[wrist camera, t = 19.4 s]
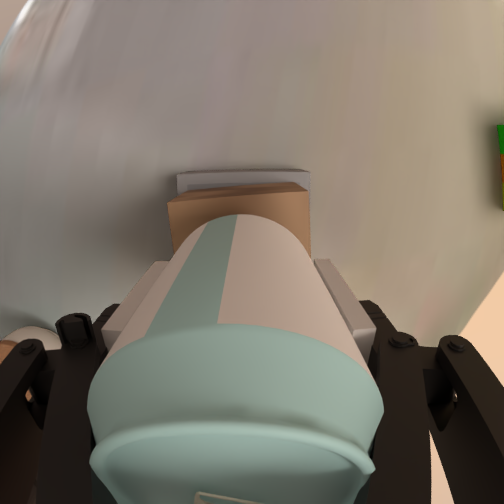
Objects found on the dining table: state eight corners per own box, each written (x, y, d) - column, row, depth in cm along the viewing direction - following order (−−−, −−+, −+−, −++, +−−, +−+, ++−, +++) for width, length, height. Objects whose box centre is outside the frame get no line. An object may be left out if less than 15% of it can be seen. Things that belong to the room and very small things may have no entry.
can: (318, 325, 17) (386, 528, 5) (195, 347, 17) (148, 547, 6) (299, 198, 15) (440, 341, 3) (157, 228, 15) (-6, 391, 4)
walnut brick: (199, 288, 26) (186, 326, 20) (187, 190, 23) (166, 202, 17) (298, 281, 25) (311, 318, 20) (293, 181, 23) (308, 191, 17)
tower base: (193, 278, 30) (185, 297, 26) (186, 171, 27) (176, 174, 23) (299, 277, 30) (306, 295, 26) (301, 169, 27) (310, 172, 23)
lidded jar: (27, 365, 34) (-5, 405, 25) (16, 301, 31) (-28, 337, 22) (90, 391, 35) (63, 440, 26) (84, 326, 31) (45, 375, 22)
